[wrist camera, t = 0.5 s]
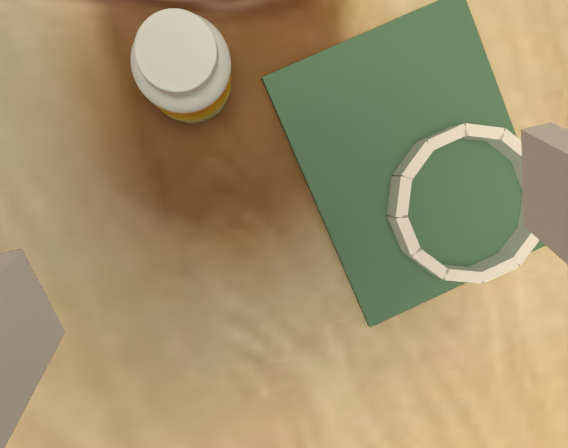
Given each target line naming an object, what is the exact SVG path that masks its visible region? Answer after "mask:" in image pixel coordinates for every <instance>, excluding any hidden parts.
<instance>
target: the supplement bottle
mask: <svg viewBox="0 0 568 448" xmlns="http://www.w3.org/2000/svg"><path fill="white" fill-rule="evenodd" d="M131 69H132V74H133V77H134V79H135V82H136V84H137V86H138V87H139V89H140V90H141V92H142V93H143V94H144V95H145V96H146V98H147V99H149V100H150V101H151V102H152V103H153V104H154V105H156V106H157V107H158V108H159V109H160V110H161V111H162V112H163V113H165V114H166V115H168V116H169V117H171V118H173V119H175V120H177V121H181V122H186V123H199V122H203V121H206V120H209V119H211V118H212V117H214V116H215V115H216V114H218V113H219V112H220V111H221V110H222V108H223V107H224V106H225V104H226V102H227V100H228V97H229V94H230V88H231V58H230V53H229V50H228V46H227V44H226V42H225V40H224V38H223V36H222V35H221V33H220V32H219V31H218V30H217V28H216V27H215V26H214V25H213V24H211V23H210V22H209V21H207V20H206V19H204V18H202V17H200V16H198V15H196V14H194V13H192V12H190V11H187V10H184V9H178V8H170V9H164V10H161V11H158V12H156V13H154V14H152V15H151V16H149V17H148V18H147V19H146V20H145V21H144V22H143V24H142V25H141V26H140V28H139V30H138V32H137V35H136V38H135V40H134V43H133V46H132V50H131Z"/></svg>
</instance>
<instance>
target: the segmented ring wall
mask: <svg viewBox="0 0 568 448" xmlns="http://www.w3.org/2000/svg"><path fill="white" fill-rule="evenodd" d="M458 139H468V140H477V141H485V142H487V143H488V144H490V145H491V146H492V147H493V148H495V149H496V150H497V151H498V152H500V153H501V154H502V155H503V156H505V157H506V158H507V159H508V160H510V161H511V162H512V165H513V168H514V170H515V173H516V176H517V178H518V181H519V184H520V186H521V189H522V145H521V140H520V139H518V138H517V137H516V136H515V135H514V134H512V133H511V132H510V131H509V130H507V129H504V128H501V127H493V126H485V125H477V124H469V123H464V124H459V125H455V126H451V127H449V128H446V129H444V130H442V131H440V132H437V133H435V134H433V135H431V136H429V137H426V138H424V139H422V140H420V141H417V143H415V144H414V145H413V147H412V148H411V149H410V151H409V152H408V154H407V155H406V156H405V158H404V159H403V160H402V162H401V163H400V165H399V166H398V167H397V169H396V170H395V171H394V173H393V174H392V175H394V176H392V177H391V185H390V193H389V201H388V209H387V215H389V216H387V218H388V220H389V223H390V225H391V227H392V230H393V232H394V235H395V237H396V239H397V242H398V244H399V247H400V249H401V251H402V253H404V254H405V255H407V256H408V257H409V258H411V259H412V260H413V261H415V262H416V263H417V264H419V265H420V266H421V267H423V268H424V269H425V270H427V271H428V272H429V273H431V274H433V275H435V276H437V277H438V278H440V279H442V280H446V281H458V282H469V283H480V284H482V283H486V282H488V281H490V280H492V279H495V278H497V277H499V276H501V275H503V274H505V273H507V272H509V271H512V270H514V269H516V268H518V267H519V265H520V266H521V265H522V263H523V262H524V260H525V259H526V258H527V256H528V255H529V254H530V252H531V251H532V250H533V248H534V247H535V246H536V244H537V243H538V242H539V239H538V238H537V237H536V236H534V235H533V234H532V233H531V232H530V231H529V230H528V229H526V228H525V227H524V226H523V196H522V202H521V209H520V216H519V223H518V227H517V228H516V229H515V231H514V232H513V234H512V235H511V236H510V238H509V239H508V240H507V242H506V243H505V244H504V246H503V247H502V248H501V250H500V251H499V252H498V253H497V254H495V255H493V256H491V257H488V258H486V259H484V260H482V261H480V262H478V263H475V264H473V265H471V266H469V267H466V266H455V265H444V264H441V263H440V262H438V261H437V260H436V259H434V258H433V257H432V256H430V255H429V254H427V253H426V252H425V251H423V250H422V249H421V248H420V245H419V243H418V240H417V238H416V235H415V233H414V230H413V228H412V226H411V223H410V221H409V218H408V209H409V201H410V193H411V186H412V180H413V178H414V177H415V175H416V174H417V173H418V171H419V170H420V169H421V167H422V166H423V164H424V163H425V162H426V160H427V159H428V158H429V156H430V155H431V154H432V152H433V151H434V150H436V149H438V148H440V147H442V146H444V145H447V144H449V143H451V142H453V141H455V140H458Z"/></svg>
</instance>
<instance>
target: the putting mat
mask: <svg viewBox="0 0 568 448" xmlns="http://www.w3.org/2000/svg"><path fill="white" fill-rule="evenodd" d="M262 80H263V83H264V85H265V87H266V90H267V92H268V94H269V97H270V99H271V101H272V104H273V106H274V108H275V110H276V113H277V115H278V117H279V120H280V122H281V124H282V127H283V129H284V131H285V134H286V136H287V138H288V141H289V143H290V145H291V147H292V150H293V152H294V154H295V157H296V159H297V161H298V164H299V166H300V168H301V171H302V173H303V175H304V178H305V180H306V182H307V184H308V187H309V189H310V191H311V194H312V196H313V198H314V201H315V203H316V205H317V208H318V210H319V212H320V215H321V217H322V219H323V221H324V224H325V226H326V228H327V231H328V233H329V235H330V238H331V240H332V242H333V245H334V247H335V249H336V251H337V254H338V256H339V258H340V261H341V263H342V265H343V268H344V270H345V272H346V275H347V277H348V279H349V282H350V284H351V286H352V288H353V291H354V293H355V295H356V298H357V300H358V302H359V305H360V307H361V309H362V312H363V314H364V316H365V319H366V321H367V323H368V325H369V326H370V327H372V326H374V325H376V324H378V323H380V322H383V321H385V320H387V319H389V318H391V317H393V316H395V315H398V314H400V313H402V312H404V311H406V310H408V309H410V308H413V307H415V306H417V305H419V304H421V303H423V302H425V301H428V300H430V299H432V298H434V297H436V296H438V295H440V294H443V293H445V292H447V291H449V290H451V289H453V288H455V287H458V286H460V285H462V284H464V283H466V282H458V281H446V280H442V279H440V278H438V277H437V276H435V275H433V274H431V273H429V272H428V271H427V270H425V269H424V268H423V267H421V266H420V265H419V264H417V263H416V262H415V261H413V260H412V259H411V258H409V257H408V256H407V255H405V254H404V253H402V251H401V249H400V247H399V244H398V242H397V239H396V237H395V235H394V232H393V230H392V227H391V225H390V223H389V220H388V218H387V216H389V215H387V209H388V201H389V193H390V185H391V177H392V176H394V175H392V174H393V173H394V171H395V170H396V169H397V167H398V166H399V165H400V163H401V162H402V160H403V159H404V158H405V156H406V155H407V154H408V152H409V151H410V149H411V148H412V147H413V145H414V144H415V143H417V141H420V140H422V139H424V138H426V137H429V136H431V135H433V134H435V133H437V132H440V131H442V130H444V129H446V128H449V127H451V126H455V125H459V124H464V123H469V124H477V125H485V126H493V127H501V128H504V129H507V130H509V131H510V132H511V133H512V134H514V135H515V136H516V134H515V131H514V128H513V126H512V123H511V120H510V118H509V115H508V112H507V110H506V107H505V104H504V101H503V99H502V96H501V93H500V91H499V88H498V85H497V83H496V80H495V77H494V74H493V72H492V69H491V66H490V64H489V61H488V58H487V55H486V53H485V50H484V47H483V45H482V42H481V39H480V37H479V34H478V31H477V28H476V26H475V23H474V20H473V18H472V15H471V12H470V10H469V7H468V4H467V1H466V0H439V1H436V2H434V3H432V4H429V5H427V6H425V7H423V8H420V9H418V10H416V11H413V12H411V13H409V14H406V15H404V16H402V17H400V18H397V19H395V20H393V21H390V22H388V23H386V24H384V25H381V26H379V27H377V28H374V29H372V30H370V31H367V32H365V33H363V34H361V35H358V36H356V37H354V38H351V39H349V40H347V41H344V42H342V43H340V44H338V45H335V46H333V47H331V48H328V49H326V50H324V51H321V52H319V53H317V54H315V55H312V56H310V57H308V58H305V59H303V60H301V61H298V62H296V63H294V64H292V65H289V66H287V67H285V68H282V69H280V70H278V71H275V72H273V73H271V74H269V75H266V76H264V77H262ZM522 196H523V194H522V189H521V186H520V184H519V181H518V178H517V176H516V173H515V170H514V168H513V165H512V162H511V161H510V160H508V159H507V158H506V157H505V156H503V155H502V154H501V153H500V152H498V151H497V150H496V149H495V148H493V147H492V146H491V145H490V144H488V143H487V142H485V141H477V140H468V139H458V140H455V141H453V142H451V143H449V144H447V145H444V146H442V147H440V148H438V149H436V150H434V151H433V152H432V154H431V155H430V156H429V158H428V159H427V160H426V162H425V163H424V164H423V166H422V167H421V169H420V170H419V171H418V173H417V174H416V175H415V177H414V178H413V180H412V186H411V193H410V201H409V209H408V218H409V221H410V223H411V226H412V228H413V230H414V233H415V235H416V238H417V240H418V243H419V245H420V248H421V249H422V250H423V251H425V252H426V253H427V254H429V255H430V256H432V257H433V258H434V259H436V260H437V261H438V262H440V263H441V264H444V265H455V266H466V267H469V266H471V265H473V264H475V263H478V262H480V261H482V260H484V259H486V258H488V257H491V256H493V255H495V254H497V253H498V252H499V251H500V250H501V248H502V247H503V246H504V244H505V243H506V242H507V240H508V239H509V238H510V236H511V235H512V234H513V232H514V231H515V229H516V228H517V227H518V223H519V216H520V209H521V202H522ZM543 246H545V244H544V243H542V242H541V241H540V240H539V242H538V243H537V244H536V246H535V247H534V248H533V250H532V251H535V250H537V249H539V248H541V247H543ZM532 251H531V252H532Z"/></svg>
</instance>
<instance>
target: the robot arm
mask: <svg viewBox="0 0 568 448" xmlns="http://www.w3.org/2000/svg"><path fill="white" fill-rule="evenodd" d="M521 145H522V194H523V226H524V227H525V228H526V229H528V230H529V231H530V232H531V233H532V234H533V235H534V236H536V237H537V238H538V239H539V240H540V241H541V242H542V243H544V244H545V245H546V246H547V247H548V248H549V249H551V250H552V251H553V252H554V253H555V254H556V255H557V256H559V257H560V258H561V259H562V260H563V261H564V262H565V263H567V264H568V130H567V129H565V128H563V127H560V126H558V125H556V124H554V123H552V122H551V123H547V124H543V125H539V126H534V127H530V128H526V129H522V130H521ZM64 333H65V331H64V329H63V327H62V325H61V323H60V321H59V319H58V317H57V315H56V313H55V311H54V309H53V308H52V306H51V304H50V302H49V300H48V298H47V296H46V294H45V292H44V290H43V288H42V287H41V285H40V283H39V281H38V279H37V277H36V275H35V273H34V271H33V269H32V267H31V265H30V264H29V262H28V260H27V258H26V256H25V254H24V252H23V250H22V249H19V250H14V251H10V252H6V253H2V254H0V448H5V446H6V444H7V442H8V440H9V438H10V436H11V434H12V432H13V430H14V429H15V427H16V425H17V423H18V421H19V419H20V417H21V415H22V413H23V411H24V409H25V408H26V406H27V404H28V402H29V400H30V398H31V396H32V394H33V392H34V390H35V388H36V386H37V385H38V383H39V381H40V379H41V377H42V375H43V373H44V371H45V369H46V367H47V365H48V363H49V362H50V360H51V358H52V356H53V354H54V352H55V350H56V348H57V346H58V344H59V342H60V341H61V339H62V337H63V335H64Z"/></svg>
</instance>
